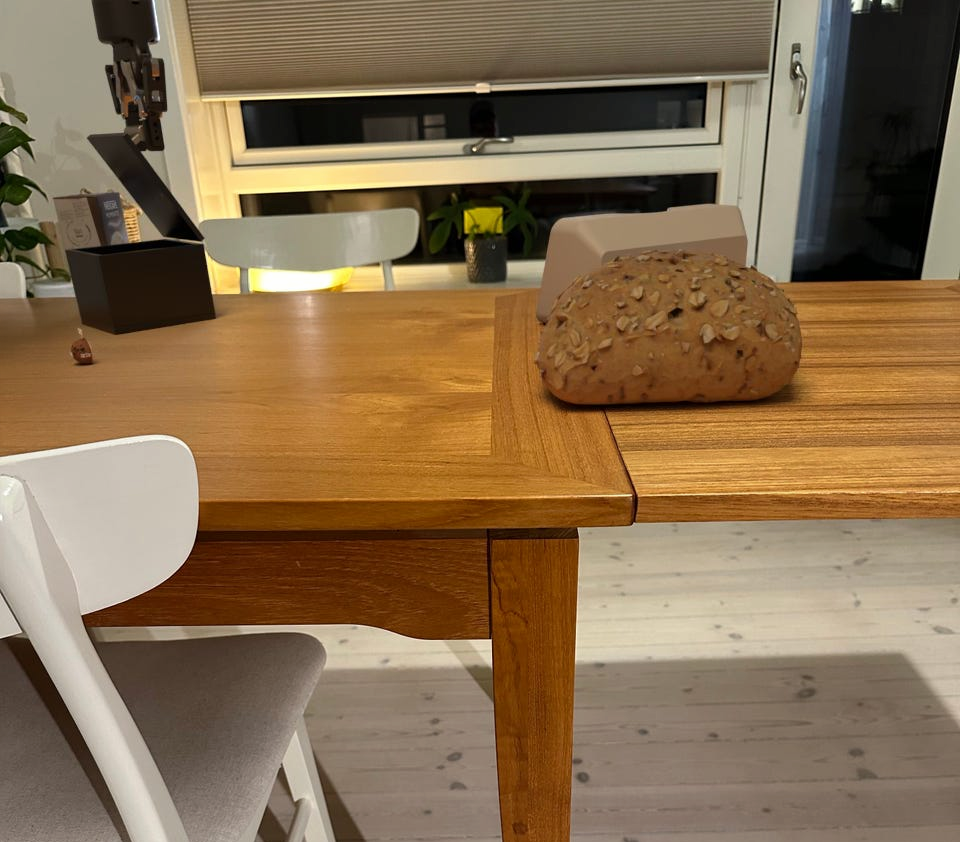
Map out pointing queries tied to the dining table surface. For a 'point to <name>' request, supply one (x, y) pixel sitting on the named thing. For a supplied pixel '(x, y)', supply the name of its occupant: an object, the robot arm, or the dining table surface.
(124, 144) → the lid
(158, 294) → the open black box
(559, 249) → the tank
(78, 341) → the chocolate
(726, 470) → the dining table surface
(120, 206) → the coffee box
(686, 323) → the bread
